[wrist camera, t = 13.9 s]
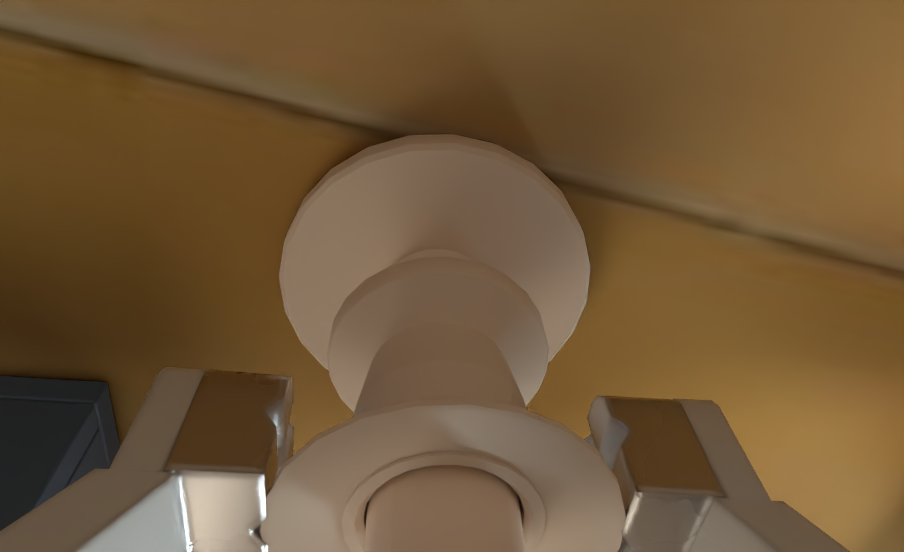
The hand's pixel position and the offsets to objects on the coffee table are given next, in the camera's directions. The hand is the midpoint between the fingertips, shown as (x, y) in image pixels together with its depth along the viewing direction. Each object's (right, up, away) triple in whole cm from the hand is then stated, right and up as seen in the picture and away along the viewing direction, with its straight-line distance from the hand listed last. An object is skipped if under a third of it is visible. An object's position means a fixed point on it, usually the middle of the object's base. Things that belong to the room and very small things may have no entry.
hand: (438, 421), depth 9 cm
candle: (0, +2, +3) cm, 4 cm away
